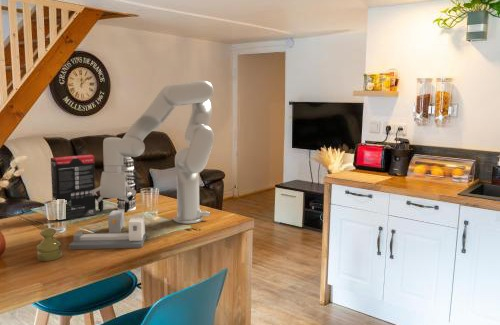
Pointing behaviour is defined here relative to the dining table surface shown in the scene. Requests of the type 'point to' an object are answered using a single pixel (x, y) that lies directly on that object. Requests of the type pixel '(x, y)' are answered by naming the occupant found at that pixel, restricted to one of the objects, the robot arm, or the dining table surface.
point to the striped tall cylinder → (130, 182)
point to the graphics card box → (74, 184)
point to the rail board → (113, 237)
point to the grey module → (116, 221)
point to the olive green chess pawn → (49, 246)
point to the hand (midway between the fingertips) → (113, 211)
